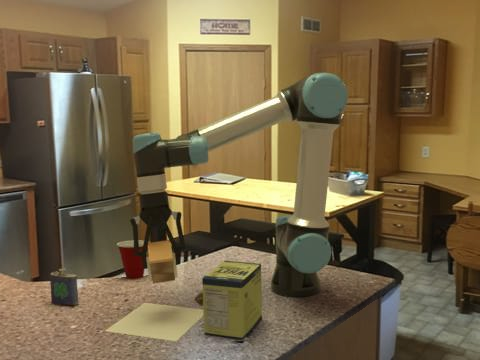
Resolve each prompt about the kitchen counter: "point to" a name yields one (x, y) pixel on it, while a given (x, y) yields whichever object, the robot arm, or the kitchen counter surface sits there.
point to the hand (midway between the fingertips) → (163, 278)
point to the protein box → (232, 300)
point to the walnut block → (161, 261)
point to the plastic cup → (131, 259)
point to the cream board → (158, 321)
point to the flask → (64, 288)
